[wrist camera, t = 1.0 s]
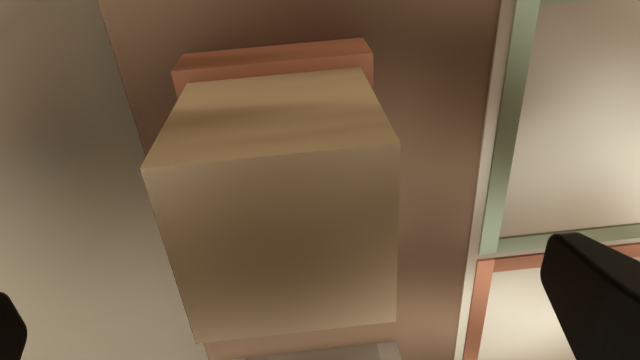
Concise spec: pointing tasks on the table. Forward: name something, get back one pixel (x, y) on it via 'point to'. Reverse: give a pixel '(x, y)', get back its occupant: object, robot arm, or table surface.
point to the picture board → (446, 150)
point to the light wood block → (278, 190)
